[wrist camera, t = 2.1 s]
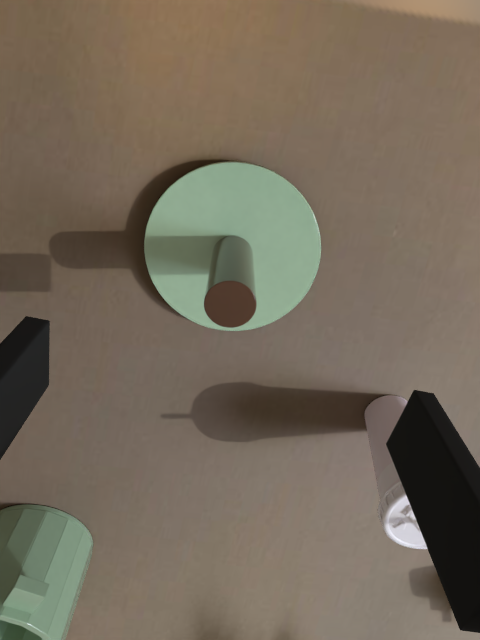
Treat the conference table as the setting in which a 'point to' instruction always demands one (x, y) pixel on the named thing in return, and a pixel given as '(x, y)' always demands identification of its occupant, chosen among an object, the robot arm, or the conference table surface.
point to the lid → (232, 246)
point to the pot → (40, 571)
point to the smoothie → (390, 473)
